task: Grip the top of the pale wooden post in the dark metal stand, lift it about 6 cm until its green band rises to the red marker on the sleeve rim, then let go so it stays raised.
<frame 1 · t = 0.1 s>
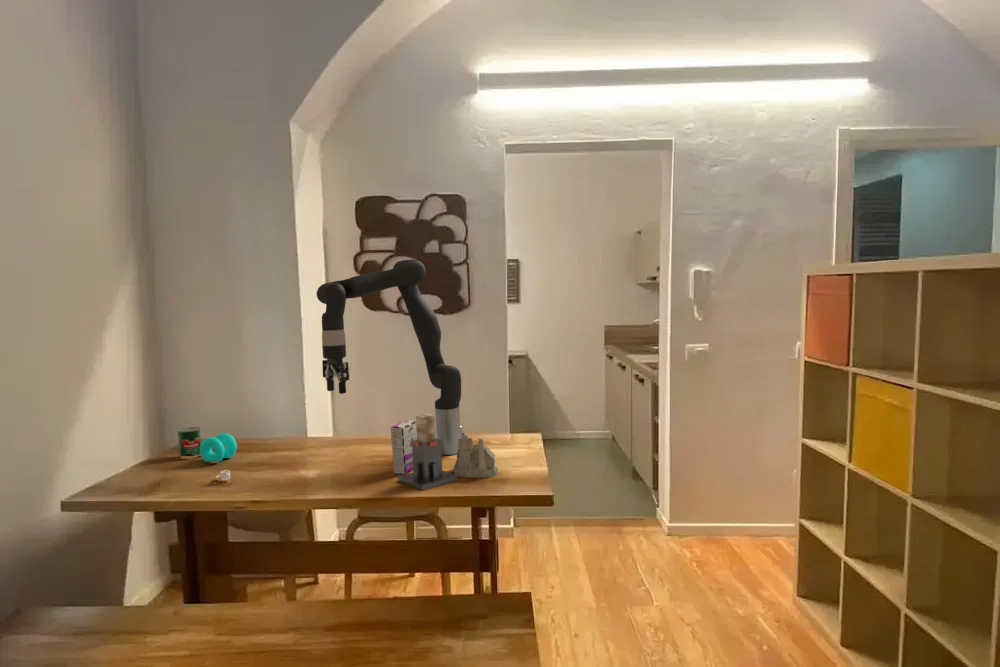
hand: (336, 392, 217), 29 cm above the table, tool pointing down, fingers open, 8 cm apart
post: (426, 445, 213), point 12 cm above the table, slide at 0.0 cm
donuts: (219, 461, 247), on the table
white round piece: (231, 481, 223), on the table
canned tomato: (191, 457, 255), on the table
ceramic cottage: (477, 471, 223), on the table
stand: (428, 480, 214), on the table
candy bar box: (406, 470, 227), on the table
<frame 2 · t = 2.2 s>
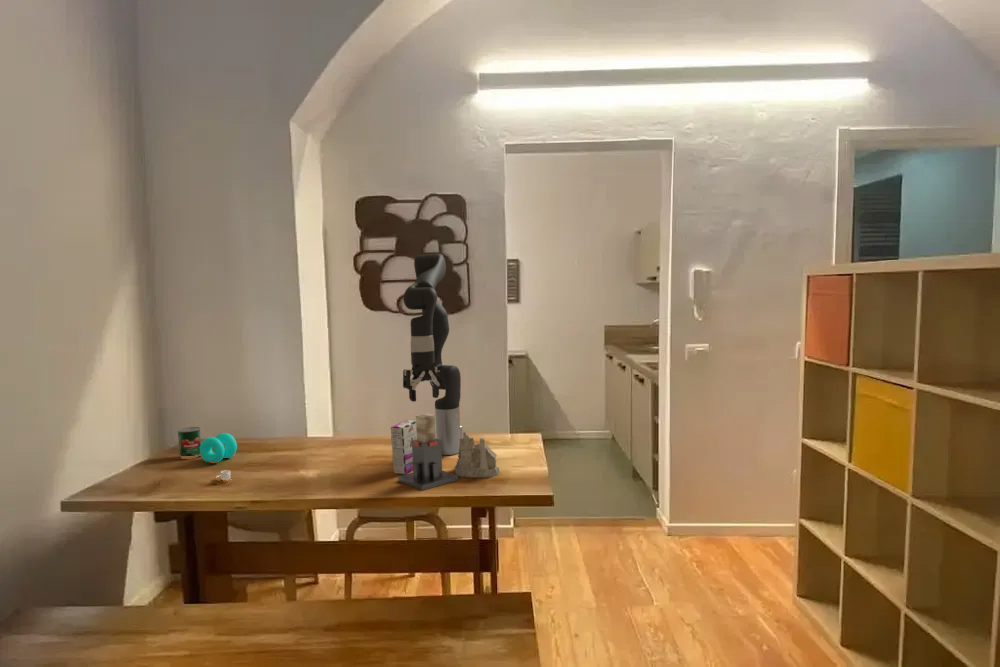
hand: (424, 399, 212), 27 cm above the table, tool pointing down, fingers open, 8 cm apart
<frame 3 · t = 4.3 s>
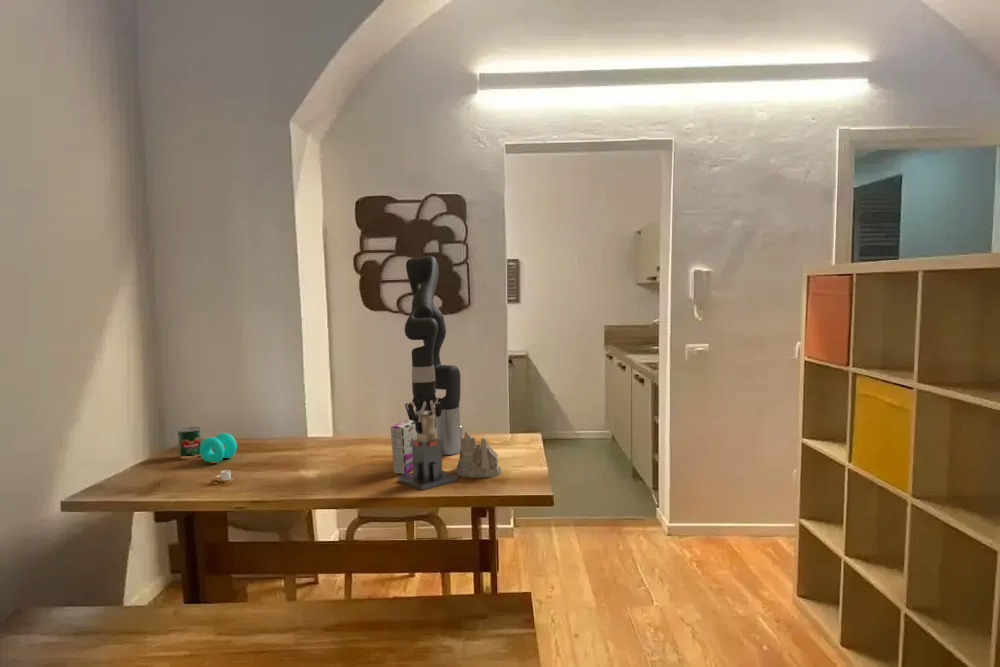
hand: (425, 431, 213), 16 cm above the table, tool pointing down, fingers closed on post, 4 cm apart
post: (426, 445, 213), point 12 cm above the table, slide at 0.0 cm, touching gripper
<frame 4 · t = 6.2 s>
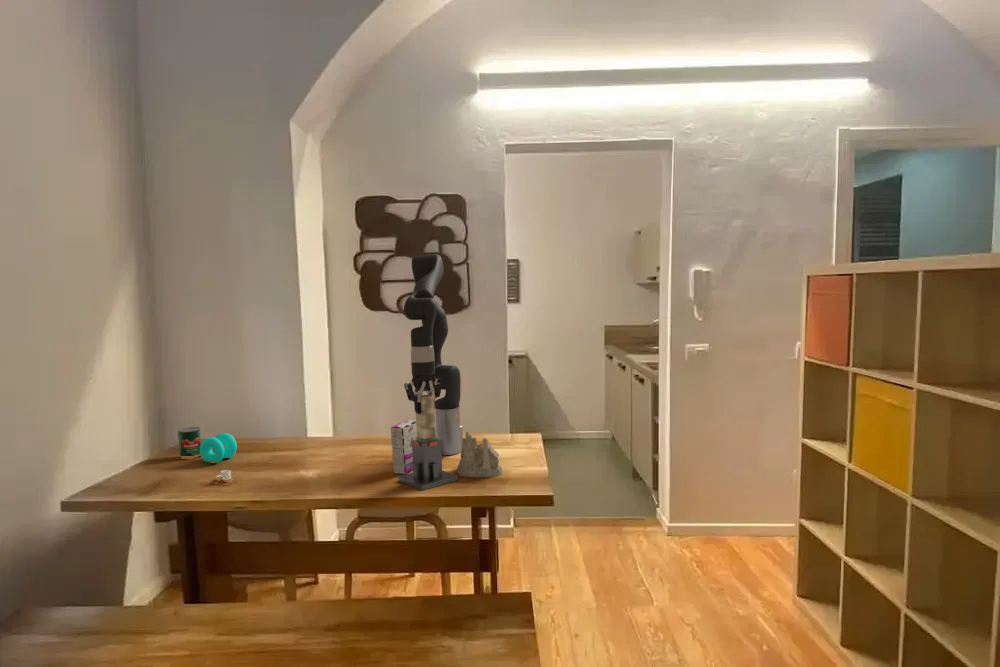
hand: (425, 412, 212), 23 cm above the table, tool pointing down, fingers closed on post, 4 cm apart
post: (425, 426, 213), point 18 cm above the table, slide at 6.4 cm, touching gripper
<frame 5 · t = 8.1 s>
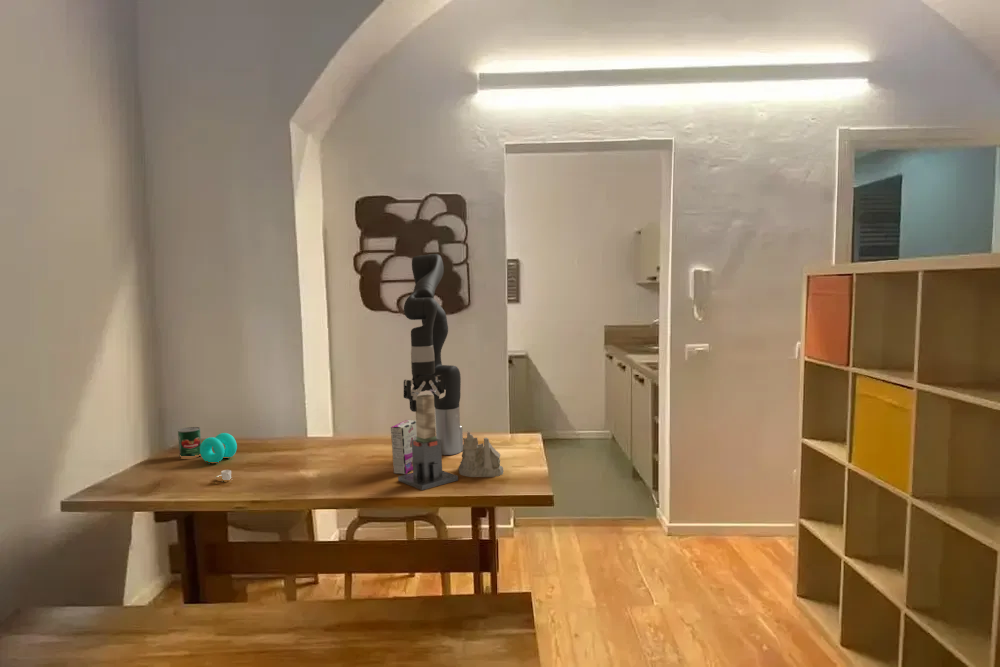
hand: (425, 409, 212), 24 cm above the table, tool pointing down, fingers open, 8 cm apart
post: (425, 426, 213), point 18 cm above the table, slide at 6.4 cm
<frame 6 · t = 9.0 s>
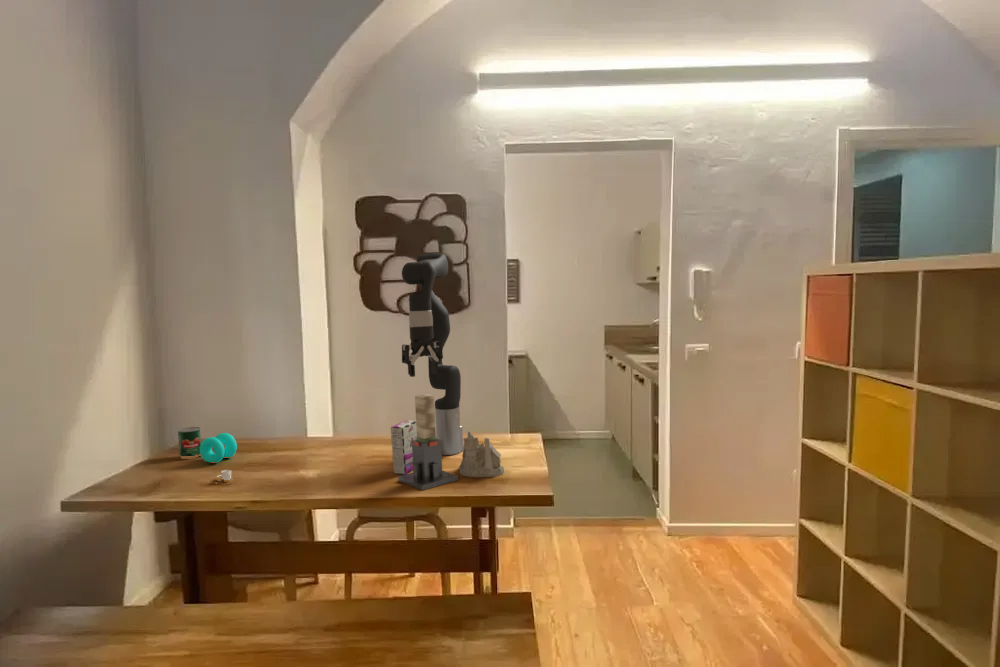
hand: (423, 374, 211), 35 cm above the table, tool pointing down, fingers open, 8 cm apart
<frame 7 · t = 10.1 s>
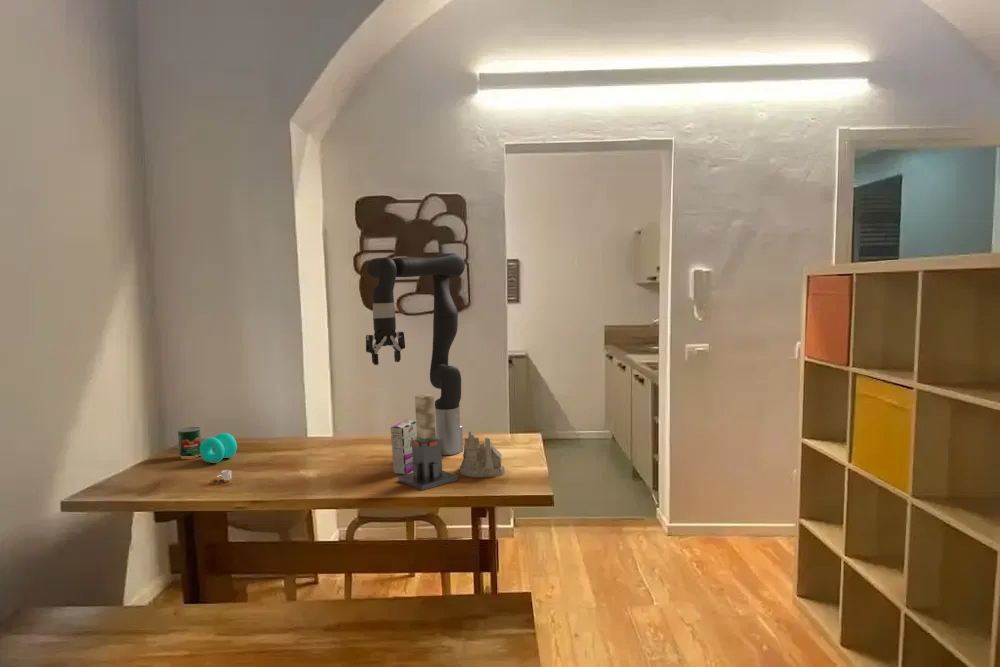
hand: (386, 363, 225), 37 cm above the table, tool pointing down, fingers open, 8 cm apart
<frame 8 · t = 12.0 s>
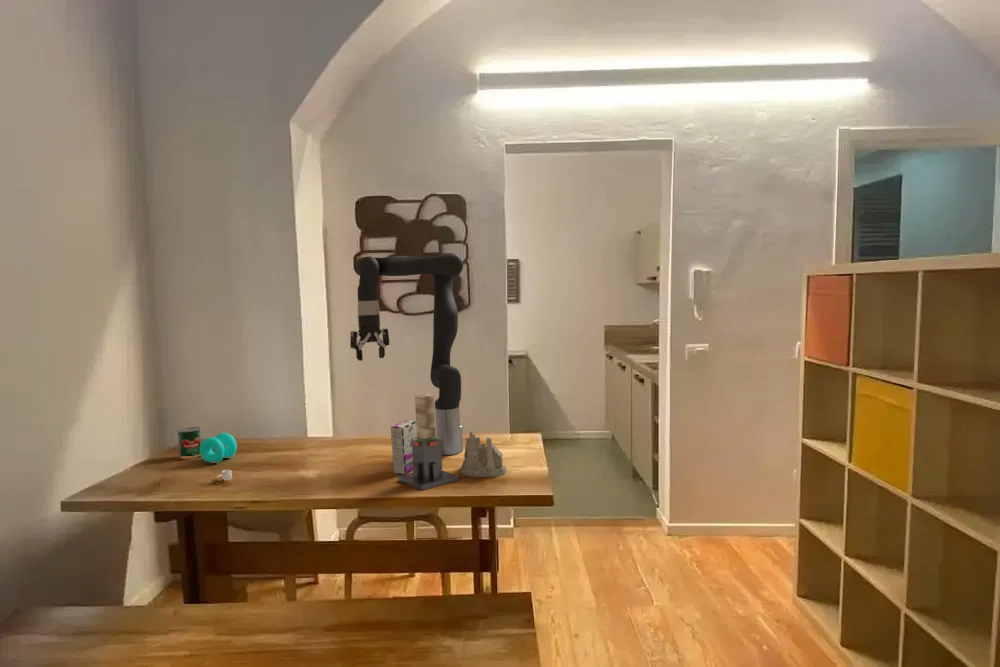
hand: (370, 359, 232), 38 cm above the table, tool pointing down, fingers open, 8 cm apart
at the end: post slide at 6.4 cm; the gripper is holding nothing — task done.
